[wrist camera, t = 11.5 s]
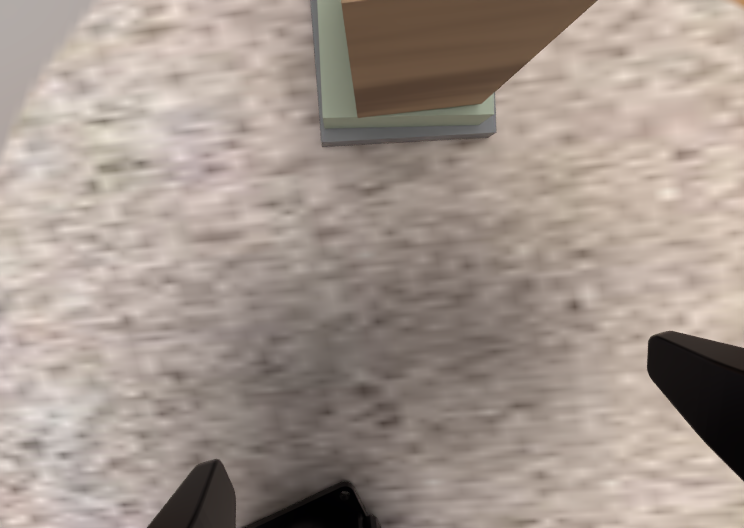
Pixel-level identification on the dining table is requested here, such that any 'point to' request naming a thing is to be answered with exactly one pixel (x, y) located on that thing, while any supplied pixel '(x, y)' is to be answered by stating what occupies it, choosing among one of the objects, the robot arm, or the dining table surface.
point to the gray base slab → (390, 133)
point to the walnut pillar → (444, 48)
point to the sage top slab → (341, 93)
